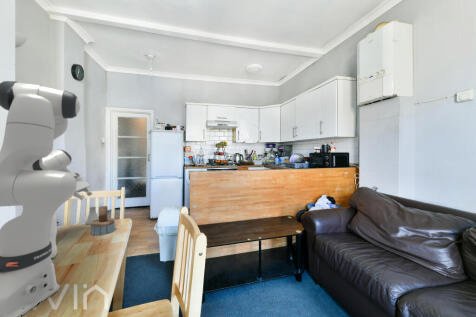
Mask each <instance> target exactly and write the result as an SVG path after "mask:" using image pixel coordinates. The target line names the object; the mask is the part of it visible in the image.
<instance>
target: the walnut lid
mask: <svg viewBox="0 0 476 317" xmlns="http://www.w3.org/2000/svg"><path fill="white" fill-rule="evenodd" d="M98 218H99V219H97V220H94V221H92V222H91V225H90V227H91V226H93V227H103V226H108V225H111V224H113V223H114V222H115V223H116V220H115V218H113V217H108V205H103V206H99V207H98Z"/></svg>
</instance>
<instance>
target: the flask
mask: <svg viewBox="0 0 476 317" xmlns="http://www.w3.org/2000/svg"><path fill="white" fill-rule="evenodd" d="M96 208H97V206H91V207H89V213H88V216H87V218H86V221H85V225H87V226H91V222H92V221H94V220H97V219H99V215H98V214H97V210H96Z"/></svg>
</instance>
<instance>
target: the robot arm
mask: <svg viewBox="0 0 476 317" xmlns="http://www.w3.org/2000/svg"><path fill="white" fill-rule="evenodd" d="M80 104H81V103H80V101H79V99H78V96H77V95H76V94H75V93H73V92H71V91H67V90H60V89H57V88H54V87H53V88H52V87H48V86H43V85H41V84H34V83H27V82H25V83H24V82H18V81H15V80H14V81H13V80H12V81H11V80H3V81H2V82H0V107H1V108H2V109H3V110H6V111H8V112H7V116H6V120H5V121H6V122H5V127H4V128H5V129H4V135H3V139H2V141H3V142H2V145H1V149H0V207H17V206H20V207H21V206H22V212H21V214H20V215H18V216H16V217H14V218H12V219H10V220H8V221H6V222H5V223H4V224H2V226H1V227H0V317H22V316H23V315H25V314H26V313H28V312H29V311H31V310H32V309H33V308H35V307H37V304H38V303H39V302H40V303H42V302H44V300H46V299H47V298H50V296H52V295H53V294H55V293H56V292H58V291H59V290H60V284H59V283H58V281H57V277H56V270H55V264H54V262H53V260H52V258H51V256H50V255H51V253H52V244H51V242H50V226H51V220H52V217H53V215H54V213H55V214H56V211H57V210H58V209H59V208H60V207H61V206H62V205H63V204H65V203H66V202H67V201H68V200H70V199H71V198H72V197H74V198H77V199H79V200H80V201H82V200H84V199H85V196H84V195H83V194H81V192H85V193H86V195H87V196H88V197H91V196H92V195H93V192H92V191H91V190H90V186H91V185H90V183H89V182H88V181H87V180H86V179H85V178H83V177H82V176H81V174H80V173H78V172H74V171H72V170H71V169H69V168H67V167H68V166H70V165H71V163H72V160H73V158H72V156H71V154H69V153H68V152H67V151H65V150H64V149H54V140H56V139H58V138H59V137H61V136H62V135H64V133H66V131H67V128H68V125H69V121H68V119H74V118H75V117H77V116H78V113H79V112H80V108H81V105H80ZM41 301H42V302H41ZM40 303H39V304H40ZM39 304H38V305H39ZM21 315H22V316H21Z"/></svg>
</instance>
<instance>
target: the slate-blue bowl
mask: <svg viewBox="0 0 476 317" xmlns="http://www.w3.org/2000/svg"><path fill="white" fill-rule="evenodd" d="M115 230H116V221H115V222H114V223H113V224H111V225H108V226H103V227H93V226H91V225H90V234H91V235H93V236H104V235H107V234H111V233H113V232H114V231H115ZM110 232H111V233H110ZM103 234H104V235H103Z"/></svg>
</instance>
